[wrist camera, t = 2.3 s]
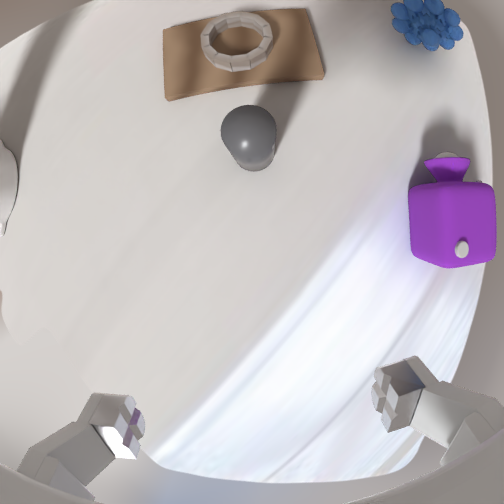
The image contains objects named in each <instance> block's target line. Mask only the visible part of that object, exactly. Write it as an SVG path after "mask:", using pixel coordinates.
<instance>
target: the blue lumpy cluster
mask: <svg viewBox="0 0 504 504" xmlns="http://www.w3.org/2000/svg"><path fill="white" fill-rule="evenodd" d="M403 2H404V4H402V3H399V2H398V3H394V4H393V5H392V6H391V12H392V14H393V15H394V16H395V18H394V19H393V20H392V25H393V27H394V28H395V29H396V30H397V31H398V32H400V33H403V34H405V38H406V40H407V41H408V42H409V43H411V44H413V45H418V44H420V43H421V42H422V43H423V45H424V47H425V48H426V49H428V50H430V51H435V50H437V49H438V47H439V44H440V46H441V47H443V48H444V49H447V50H450V49H452V48H453V47H454V44H455V42H454V40H455V41H459V40H461V39H462V38H463V31H462V29H461V28H460V27H459V26H458V25H459V23H460V18H459V15H458V14H457V13H456V12H455V11H454V10H452V9H449V8H446V9H444V5H443V2H442V1H441V0H424V3H423V1H422V0H403Z"/></svg>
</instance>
